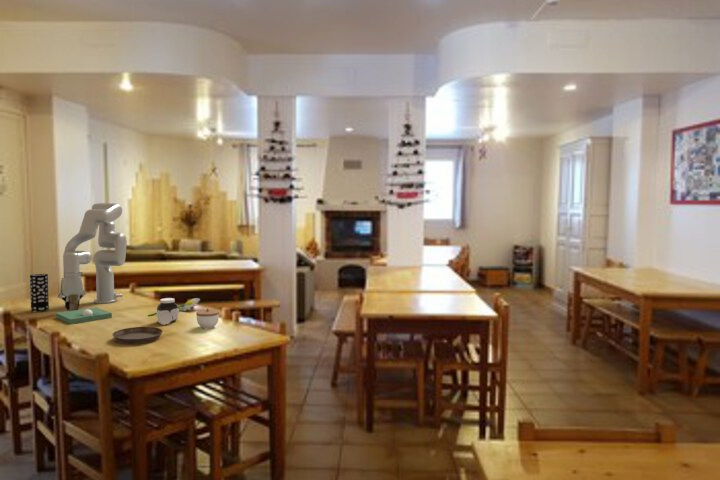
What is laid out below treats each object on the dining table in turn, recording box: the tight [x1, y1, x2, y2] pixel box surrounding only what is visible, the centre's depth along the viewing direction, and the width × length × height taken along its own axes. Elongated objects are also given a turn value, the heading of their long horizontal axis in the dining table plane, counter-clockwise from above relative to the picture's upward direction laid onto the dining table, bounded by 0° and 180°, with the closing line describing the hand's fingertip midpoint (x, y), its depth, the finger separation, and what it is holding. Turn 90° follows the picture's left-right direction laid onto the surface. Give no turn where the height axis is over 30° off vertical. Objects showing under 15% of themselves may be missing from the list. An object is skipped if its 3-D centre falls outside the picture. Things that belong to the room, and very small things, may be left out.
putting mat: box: [55, 307, 113, 325], centre depth 258 cm, size 20×20×2 cm
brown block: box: [66, 294, 79, 312], centre depth 268 cm, size 4×5×9 cm
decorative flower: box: [147, 297, 201, 317], centre depth 275 cm, size 13×5×30 cm
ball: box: [82, 308, 93, 316], centre depth 255 cm, size 5×5×5 cm
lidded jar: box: [195, 308, 220, 329], centre depth 243 cm, size 11×11×9 cm
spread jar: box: [156, 297, 179, 326], centre depth 251 cm, size 12×11×12 cm
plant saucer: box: [111, 326, 164, 345], centre depth 221 cm, size 21×21×3 cm
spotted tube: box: [29, 273, 50, 313], centre depth 273 cm, size 8×8×20 cm
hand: (72, 307), depth 268 cm, fingers closed on brown block, 3 cm apart
